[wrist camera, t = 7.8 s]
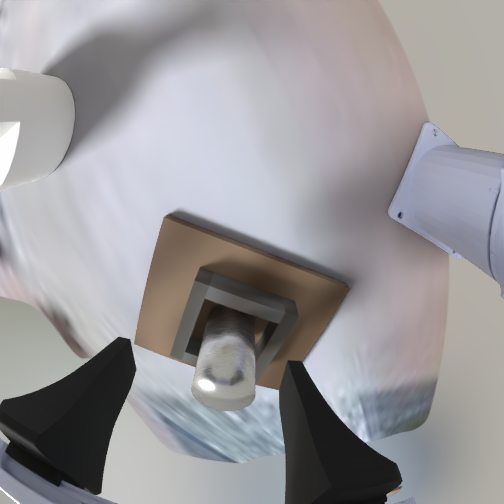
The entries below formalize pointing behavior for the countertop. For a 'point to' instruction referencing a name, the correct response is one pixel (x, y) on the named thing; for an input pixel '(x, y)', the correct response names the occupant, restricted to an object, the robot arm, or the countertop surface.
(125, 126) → the countertop surface
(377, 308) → the countertop surface
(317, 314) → the dock
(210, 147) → the countertop surface
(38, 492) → the robot arm
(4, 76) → the cylinder with rectangular tab
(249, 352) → the clear glass cylinder
